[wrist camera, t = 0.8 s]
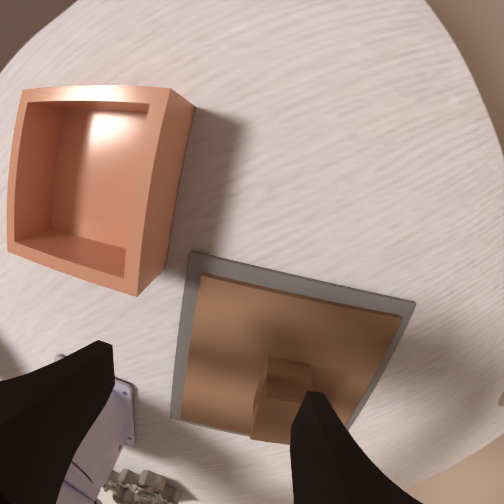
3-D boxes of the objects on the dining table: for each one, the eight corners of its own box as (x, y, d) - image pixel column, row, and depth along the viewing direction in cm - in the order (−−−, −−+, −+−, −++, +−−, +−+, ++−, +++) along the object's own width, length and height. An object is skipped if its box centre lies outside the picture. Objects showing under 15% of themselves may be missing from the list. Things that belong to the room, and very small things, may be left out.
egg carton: (127, 490, 29) (119, 510, 25) (96, 462, 27) (84, 483, 24) (190, 496, 28) (183, 520, 24) (159, 468, 26) (150, 495, 22)
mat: (336, 442, 22) (337, 446, 22) (171, 414, 22) (169, 417, 22) (413, 301, 18) (415, 303, 18) (191, 250, 18) (189, 252, 18)
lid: (331, 439, 22) (337, 479, 17) (181, 413, 22) (167, 454, 17) (398, 314, 18) (426, 352, 13) (203, 272, 18) (182, 305, 13)
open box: (165, 267, 18) (136, 296, 14) (47, 234, 18) (7, 251, 14) (195, 106, 16) (170, 88, 11) (64, 98, 16) (22, 90, 11)
